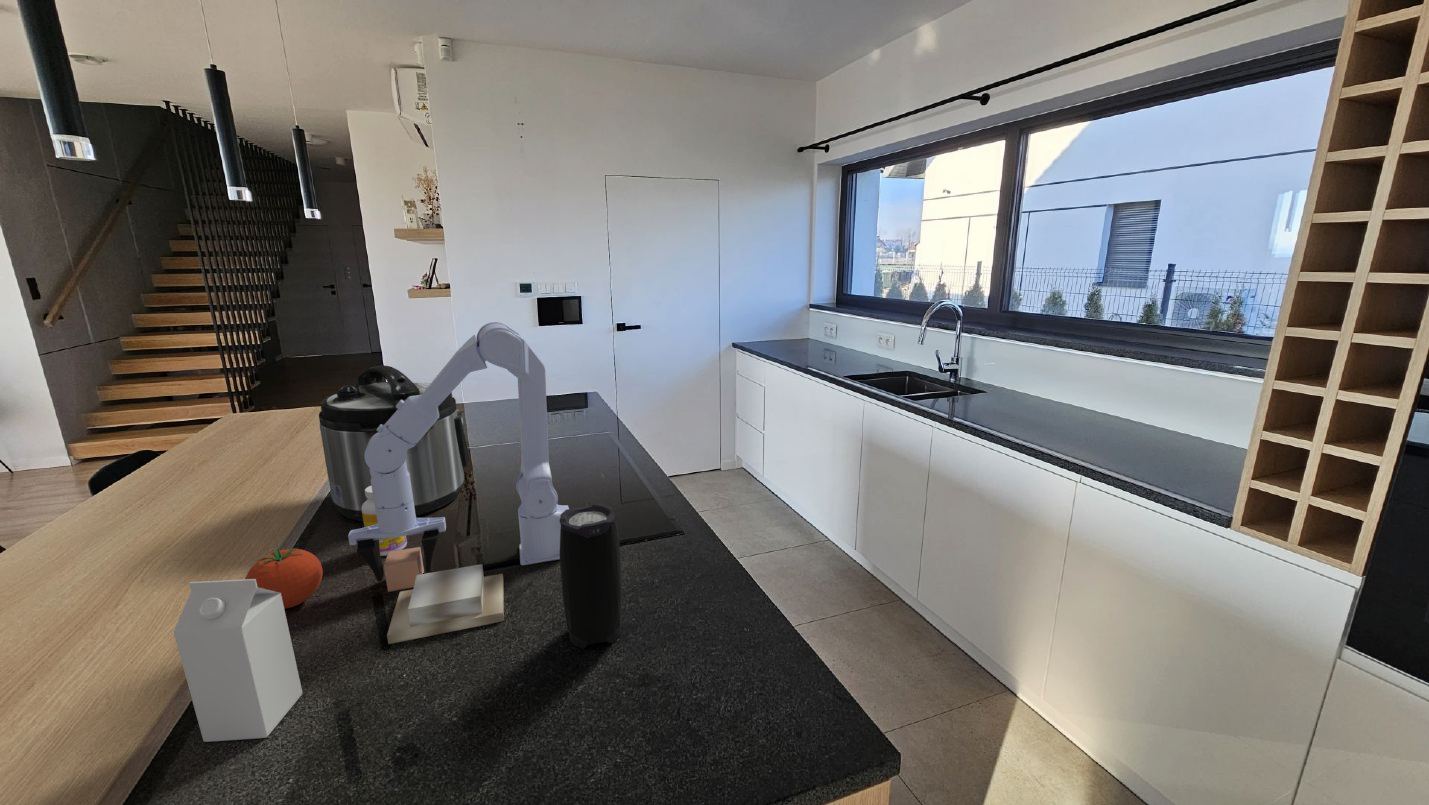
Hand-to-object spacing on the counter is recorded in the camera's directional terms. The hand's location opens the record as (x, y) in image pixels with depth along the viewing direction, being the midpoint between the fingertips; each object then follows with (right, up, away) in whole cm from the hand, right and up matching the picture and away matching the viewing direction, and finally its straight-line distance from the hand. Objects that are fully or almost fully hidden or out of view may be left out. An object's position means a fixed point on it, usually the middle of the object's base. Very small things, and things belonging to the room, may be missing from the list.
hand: (405, 573), depth 101 cm
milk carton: (-3, -9, -29) cm, 31 cm away
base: (+12, -3, -8) cm, 14 cm away
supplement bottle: (-9, +1, +12) cm, 15 cm away
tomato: (-16, -3, -6) cm, 17 cm away
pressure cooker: (-18, +7, +34) cm, 39 cm away
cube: (0, -1, 0) cm, 2 cm away
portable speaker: (+36, -5, -14) cm, 39 cm away
